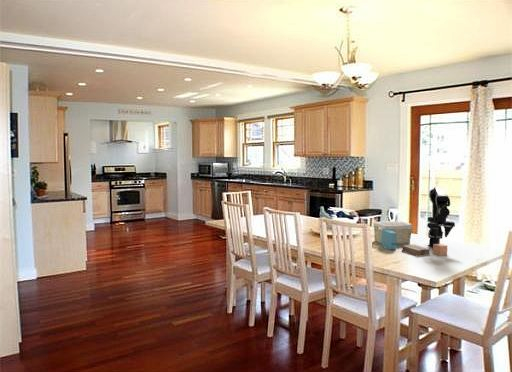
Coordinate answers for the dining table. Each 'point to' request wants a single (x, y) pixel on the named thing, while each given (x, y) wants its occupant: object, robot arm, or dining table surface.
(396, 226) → the storage basket
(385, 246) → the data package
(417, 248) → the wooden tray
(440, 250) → the terracotta cube
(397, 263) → the dining table surface
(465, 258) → the dining table surface
